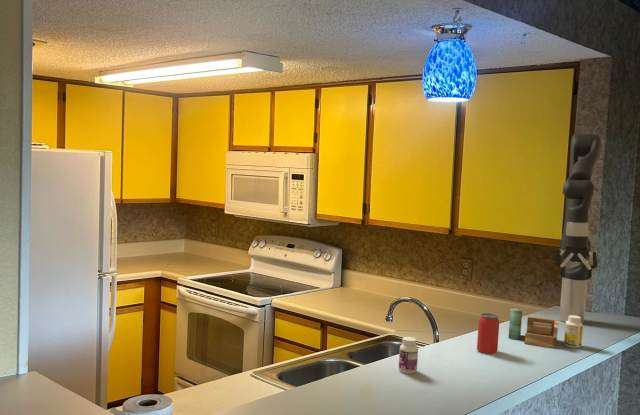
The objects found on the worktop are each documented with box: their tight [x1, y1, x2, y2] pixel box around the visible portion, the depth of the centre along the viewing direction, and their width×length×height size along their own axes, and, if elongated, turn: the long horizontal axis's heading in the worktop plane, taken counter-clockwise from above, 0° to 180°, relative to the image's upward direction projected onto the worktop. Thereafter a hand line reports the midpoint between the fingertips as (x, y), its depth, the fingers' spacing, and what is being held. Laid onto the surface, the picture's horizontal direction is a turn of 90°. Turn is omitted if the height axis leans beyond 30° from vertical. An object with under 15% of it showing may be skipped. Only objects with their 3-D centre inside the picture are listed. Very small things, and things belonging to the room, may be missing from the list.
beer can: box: [476, 312, 500, 355], centre depth 206 cm, size 7×7×12 cm
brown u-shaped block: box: [524, 316, 559, 349], centre depth 220 cm, size 11×10×7 cm
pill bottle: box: [398, 336, 419, 375], centre depth 184 cm, size 5×5×10 cm
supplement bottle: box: [563, 315, 584, 349], centre depth 216 cm, size 6×6×10 cm
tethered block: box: [508, 308, 552, 341], centre depth 221 cm, size 6×14×10 cm, turn 69°
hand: (575, 278), depth 233 cm, fingers open, 8 cm apart
